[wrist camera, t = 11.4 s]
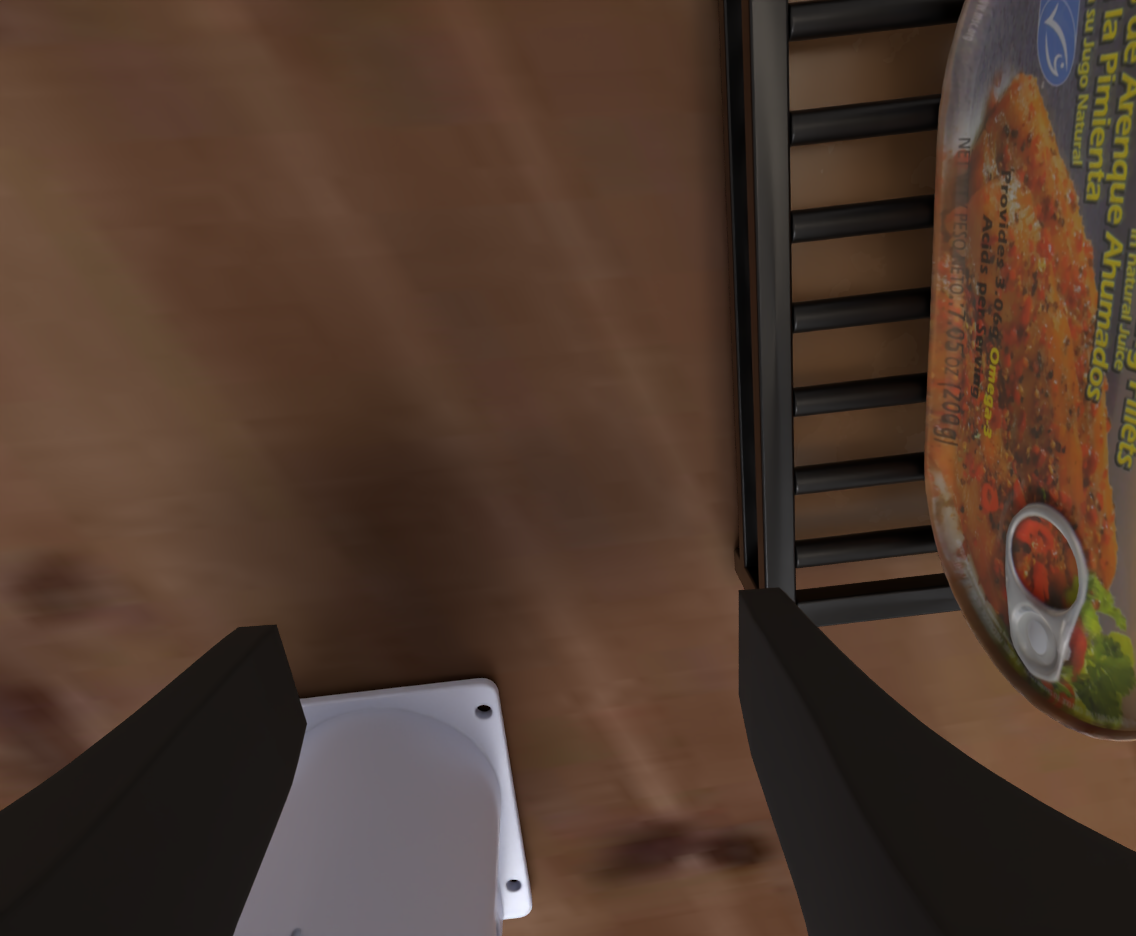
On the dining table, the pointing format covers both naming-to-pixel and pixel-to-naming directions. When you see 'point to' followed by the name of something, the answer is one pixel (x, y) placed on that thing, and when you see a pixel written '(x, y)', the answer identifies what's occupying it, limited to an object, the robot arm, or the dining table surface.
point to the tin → (1039, 350)
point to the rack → (832, 289)
